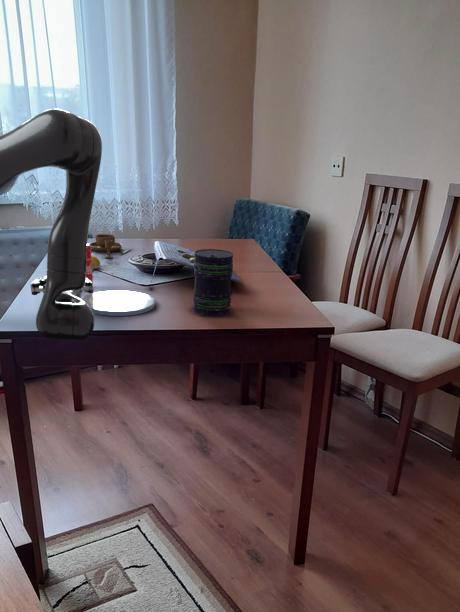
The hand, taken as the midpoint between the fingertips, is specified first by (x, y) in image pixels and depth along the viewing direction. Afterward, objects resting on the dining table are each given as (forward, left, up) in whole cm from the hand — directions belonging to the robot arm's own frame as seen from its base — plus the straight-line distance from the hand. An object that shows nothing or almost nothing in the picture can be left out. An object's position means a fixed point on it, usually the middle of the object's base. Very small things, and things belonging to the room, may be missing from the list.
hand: (61, 277), depth 134 cm
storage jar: (+35, -12, -9) cm, 38 cm away
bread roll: (+17, +43, -9) cm, 48 cm away
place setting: (+29, +66, -9) cm, 73 cm away
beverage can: (+10, +20, -9) cm, 25 cm away
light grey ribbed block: (+47, +26, -9) cm, 54 cm away
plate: (+14, +1, -8) cm, 17 cm away
